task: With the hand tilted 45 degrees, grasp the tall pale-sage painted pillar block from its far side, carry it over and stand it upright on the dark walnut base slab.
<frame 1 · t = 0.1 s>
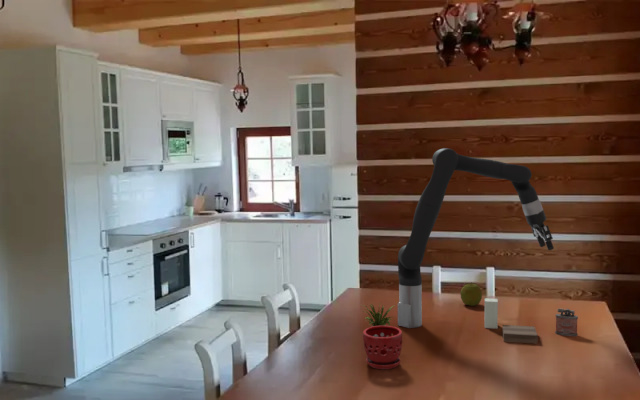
hand: (547, 247, 252), 31 cm above the table, tool tilted 20°, fingers open, 8 cm apart
plant pot: (382, 365, 207), on the table
sage pillar: (490, 326, 250), on the table
apple: (471, 305, 284), on the table
lighter: (566, 334, 238), on the table
house plant: (375, 345, 229), on the table
walnut base: (519, 337, 234), on the table
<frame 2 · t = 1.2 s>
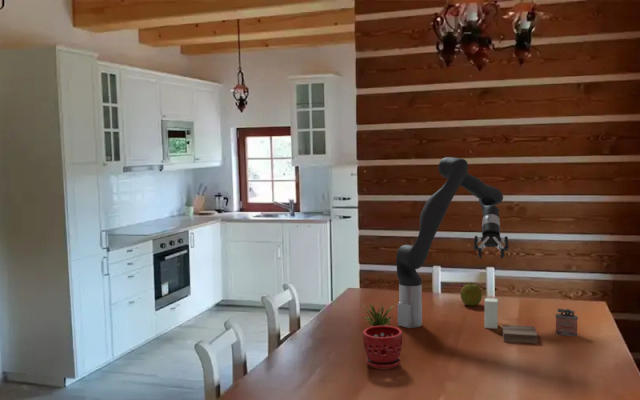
hand: (491, 257, 258), 27 cm above the table, tool tilted 45°, fingers open, 8 cm apart
nothing on the table moved.
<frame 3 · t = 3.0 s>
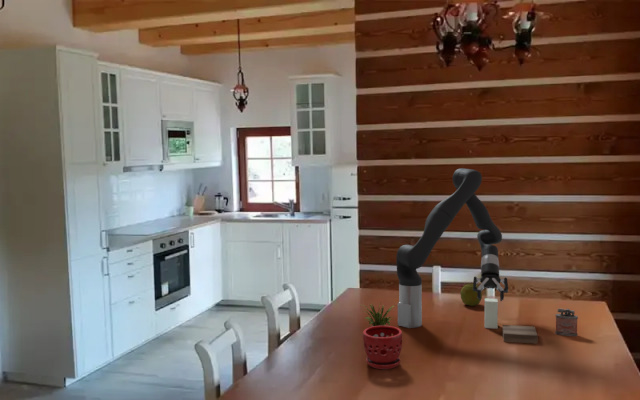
hand: (490, 299, 254), 10 cm above the table, tool tilted 45°, fingers open, 8 cm apart
nothing on the table moved.
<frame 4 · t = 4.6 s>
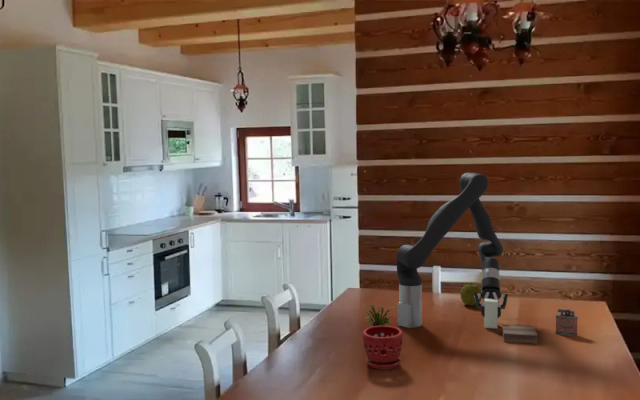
hand: (491, 316, 248), 5 cm above the table, tool tilted 45°, fingers closed on sage pillar, 5 cm apart
sage pillar: (490, 326, 250), on the table, touching gripper
everything else where it was.
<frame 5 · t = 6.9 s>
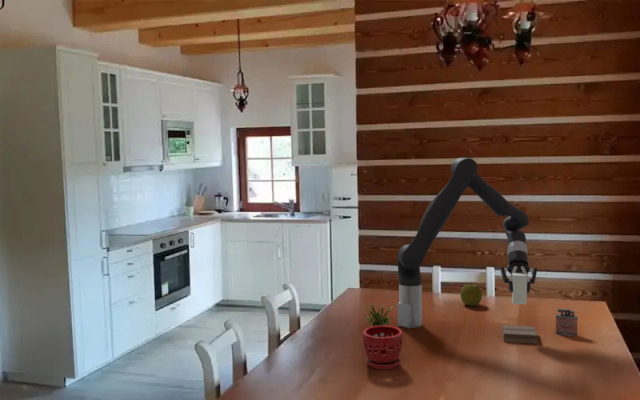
hand: (519, 291, 232), 18 cm above the table, tool tilted 45°, fingers closed on sage pillar, 5 cm apart
sage pillar: (519, 302, 234), point 14 cm above the table, touching gripper
everything else where it was.
when the fingers open (9 cm above the table, at t = 9.1 s): sage pillar drops 1 cm, resting on walnut base.
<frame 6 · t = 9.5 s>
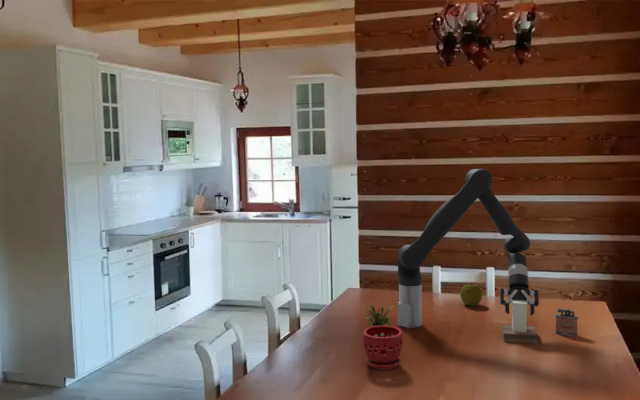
hand: (519, 314, 232), 10 cm above the table, tool tilted 45°, fingers open, 8 cm apart
sage pillar: (519, 329, 234), point 3 cm above the table, touching walnut base
everything else where it was.
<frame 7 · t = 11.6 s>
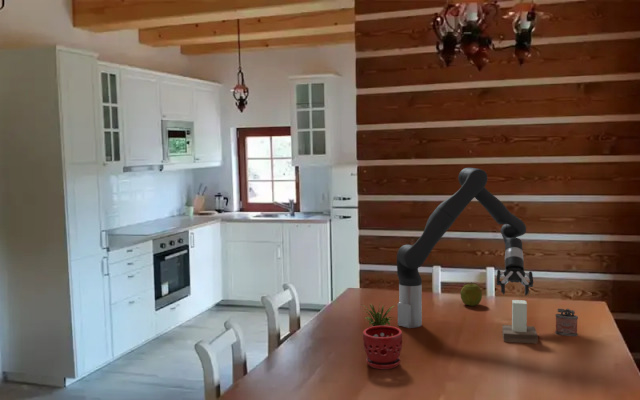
hand: (515, 293, 246), 14 cm above the table, tool tilted 45°, fingers open, 8 cm apart
nothing on the table moved.
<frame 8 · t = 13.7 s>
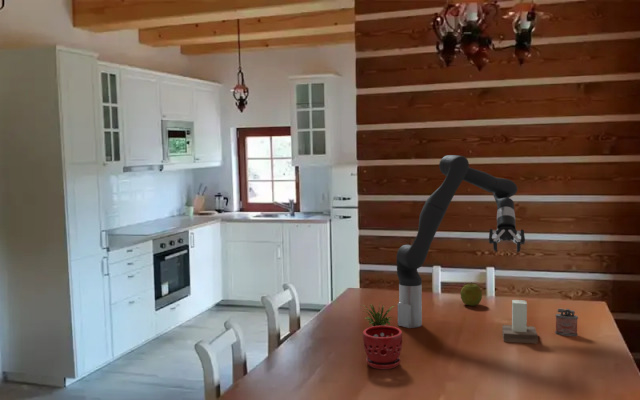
hand: (507, 251, 250), 31 cm above the table, tool tilted 45°, fingers open, 8 cm apart
nothing on the table moved.
at the end: sage pillar inside the target area on the walnut base (0.1 cm from its centre), point 3.0 cm above the walnut base's base; sage pillar tilted 0°; the gripper is holding nothing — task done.
